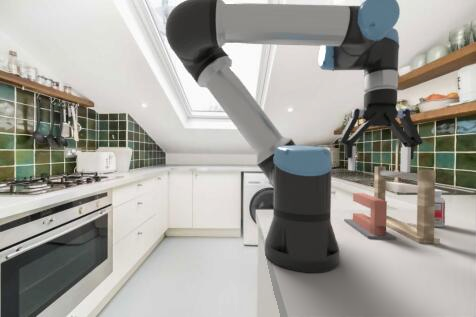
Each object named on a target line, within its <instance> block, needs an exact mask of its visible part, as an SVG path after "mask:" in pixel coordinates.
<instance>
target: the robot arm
mask: <svg viewBox="0 0 476 317" xmlns="http://www.w3.org/2000/svg"><path fill="white" fill-rule="evenodd" d="M400 11H401V10H400V5H399V2H398V1H397V0H364V1H363V2H362V3H361V5H339V4H337V5H332V4H330V5H329V4H326V5H325V4H295V3H294V4H293V3H292V4H291V3H289V4H288V3H286V4H284V3H257V2H256V3H252V2H251V3H250V2H249V3H248V2H226V1H225V0H184V1H183V2H180V3H179V4H177V5H176V6H175V7H174V8H172V10H171V11H170V13H169V15H168V17H167V19H166V23H165V36H166V40H167V43H168V44H169V46H170V49H171V50H172V51H173V52H174V53H175V55H176V56H177V58H178V60H180V62H181V63H182V65H183V67H184V69H185V70H186V71H187V73H188V74H190V76H191V77H192V79H194V81H195V82H196V84H197V85H198V86H199V87H200V88H207V90H208V91H209V92H210V94H211V95H212V96H213V98H214V99H215V100H216V102H217V103H218V104H219V106H220V107H221V108H222V110H223V111H224V113H226V115H227V117H228V118H229V119H230V120H231V122H232V124H233V125H234V126H235V127H236V128H237V130H238V131H239V132H240V134H241V135H242V137H243V138H244V139H245V141H246V142H247V143H248V145H249V146H250V147H251V149H252V150H253V152H254V153H255V155H256V156H257V158H256V165H257V166H258V168H260V170H261V172H262V173H263V174H264V176H265V177H266V179H268V182H269V184H270V185H271V186H272V188H273V214H272V215H273V216H272V220H271V222H270V226H269V229H268V232H267V233H266V234H267V235H266V238H265V242H264V254H265V256H266V258H267V259H268V260H270V261H271V262H272V263H273V264H275V265H277V266H280V267H282V268H284V269H288V270H292V271H296V272H301V273H323V272H328V271H331V270H334V269H336V268H337V267H339V265H340V259H341V258H340V251H341V250H340V247H339V244H338V241H337V239H336V235H335V231H334V228H333V225H332V221H331V218H332V217H331V215H332V214H331V211H332V210H331V208H332V169H333V162H332V154H331V151H330V150H329V149H328V148H326V147H322V146H317V145H316V146H315V145H314V146H313V145H297V144H296V143H295V142H294V140H293V139H292V138H291V137H285V136H282V135H283V134H281V133H280V131H279V130H278V129H277V127H276V126H275V125H274V123H273V122H272V121H271V119H270V118H269V116H268V115H267V114H266V113H265V111H264V110H263V108H262V107H261V106H260V104H259V103H258V102H257V101H256V99H255V98H254V96H253V95H252V94H251V92H250V91H249V90H248V88H246V85H244V83H243V82H242V80H241V79H240V78H239V76H238V75H237V74H236V73H235V71H234V70H233V69H232V64H233V60H232V58H231V56H230V55H229V54H228V53H227V51H226V49H225V48H224V46H225V45H226V44H239V45H241V44H242V45H243V44H246V45H250V44H251V45H274V46H275V45H276V46H278V45H280V46H281V45H282V46H309V47H310V46H311V47H312V46H314V47H315V46H316V47H319V46H320V49H319V53H318V65H319V68H320V69H321V70H325V71H332V72H334V71H363V72H364V76H363V77H364V78H363V79H364V82H363V84H364V86H363V88H364V89H363V91H364V94H363V110H362V109H360V108H355V109H353V110H352V111H350V112H351V113H350V118H349V120H348V122H347V124H346V126H345V127H344V129H343V131H342V133H341V135H340V137H339V138H338V140H337V143H338V144H339V145H343V146H344V149H345V151H344V157H345V158H346V159H347V163H348V164H347V170H348V171H352V172H353V171H354V172H355V171H356V157H357V156H356V155H357V153H356V151H357V145H354V144H355V143H356V142H357V141H358V140H359V139H360V137H362V135H363V134H364V133H365V132H366V131H367V130H368V129H369V128H370V127H371V128H375V127H379V128H384V127H386V128H387V129H388V130H390V131H391V133H393V135H394V136H395V137H396V138H397V139H398V141H399V142H400V143H401V144H402V145H403V147H400V165H399V166H400V171H399V172H406V173H411V160H413V159H414V151H415V147H417V146H418V145H422V144H423V143H424V142H423V140H422V137H421V135H420V134H419V132H418V129H417V127H416V126H415V123H414V121H413V120H412V119H413V118H412V117H411V111H410V109H409V108H405V109H402V110H397V104H398V90H397V89H398V86H399V79H398V78H399V72H398V71H399V50H400V40H399V39H400V37H399V32H398V30H397V29H395V28H394V27H395V26H396V24H397V23H398V20H399V18H400V15H401V14H400V13H401V12H400ZM361 117H362V118H363V119H364V121H363V122H362V123H361V124H360V125H359V127H358V128H357V129H356V130H355V132H353V133H352V131H353V130H354V127H355V126H356V125H357V122H358V120H359V119H360V118H361ZM396 117H397V119H399V121H398V120H397V119H396ZM400 124H401V125H402V127H401V125H400ZM351 133H352V135H351Z"/></svg>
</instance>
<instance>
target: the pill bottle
mask: <svg viewBox="0 0 476 317" xmlns="http://www.w3.org/2000/svg"><path fill="white" fill-rule="evenodd" d="M442 195H443V190H441V189H435V218H434V228H443V227H445V225H446V221H445V220H446V200H445V198H444V197H442Z"/></svg>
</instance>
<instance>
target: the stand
mask: <svg viewBox="0 0 476 317" xmlns="http://www.w3.org/2000/svg"><path fill="white" fill-rule="evenodd" d="M386 169H387V167H386V166H374V179H373V180H374V185H373V186H374V189H373V190H374V192H373V195H374V196H373V197H375V198H378V199H381V200H384V201H386V184H387V182H386V178H387V177H391V178H397V179H403V180H405V179H406V180H411V181H413V180H414V181H417V192H416V193H417V194H416V195H417V196H416V197H417V200H416V201H417V202H416V227H414V226H412V225H409V224H408V223H405V222H402V221H400V220H398V219H396V218H393V217H392V216H389V215H386V228H387V227H388V228H389V229H391V230H393V231H395V232H397V233H399V234H400V235H403V236H404V237H407V238H408V239H410V240H412V241H414V242H416V243H418V244H437V245H440V243H441V242H440V241H441V239H440V238H439V237H436V236H435V227H434V218H435V190H436V170H435V169H433V170H432V169H417V173H414V172H400V171H393V170H386ZM369 217H370V218H371V213H370V214H369Z"/></svg>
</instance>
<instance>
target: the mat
mask: <svg viewBox="0 0 476 317" xmlns="http://www.w3.org/2000/svg"><path fill="white" fill-rule="evenodd" d="M343 222H345V223H346V224H348V225H349V226H350V227H351V228H353V229H355V231H357V232H359V233H360V234H361V235H363V236H364V237H366V239H373V240H375V239H377V240H396V241H397V236H395V235H394V234H392V233H390V232H388V231H387V230H386V236H384V235H373V234H372V233H370V232H369V231H367V230H366V229H364V228H363V227H361V226H360V225H358V224H357V223H355V222H354V221H353V218H352V219H351V218H349V219H348V218H344V219H343Z"/></svg>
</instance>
